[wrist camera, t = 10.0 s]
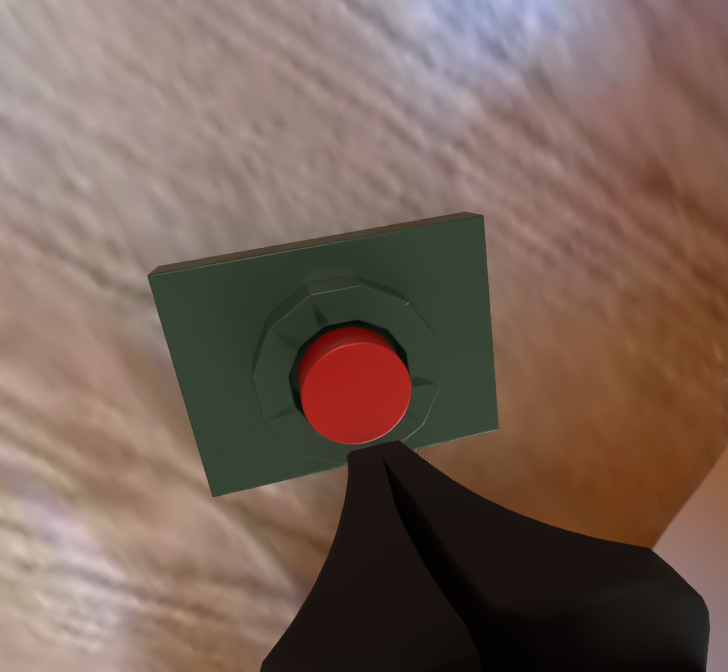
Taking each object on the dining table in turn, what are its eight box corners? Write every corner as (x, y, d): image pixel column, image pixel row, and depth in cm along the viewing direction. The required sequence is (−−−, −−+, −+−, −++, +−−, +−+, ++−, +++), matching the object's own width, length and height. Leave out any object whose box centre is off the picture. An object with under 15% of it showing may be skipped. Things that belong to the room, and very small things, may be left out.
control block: (216, 474, 22) (207, 528, 18) (156, 266, 19) (133, 286, 15) (483, 412, 23) (519, 451, 20) (466, 211, 20) (506, 219, 17)
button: (308, 431, 18) (312, 456, 17) (288, 337, 17) (291, 355, 16) (404, 409, 19) (417, 431, 17) (391, 317, 18) (404, 331, 16)
